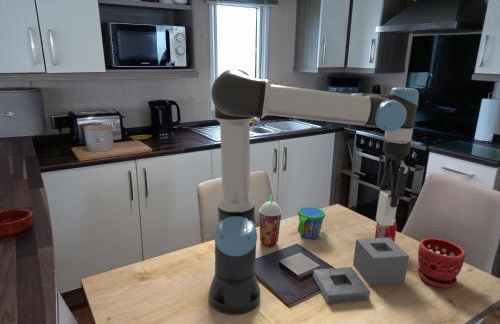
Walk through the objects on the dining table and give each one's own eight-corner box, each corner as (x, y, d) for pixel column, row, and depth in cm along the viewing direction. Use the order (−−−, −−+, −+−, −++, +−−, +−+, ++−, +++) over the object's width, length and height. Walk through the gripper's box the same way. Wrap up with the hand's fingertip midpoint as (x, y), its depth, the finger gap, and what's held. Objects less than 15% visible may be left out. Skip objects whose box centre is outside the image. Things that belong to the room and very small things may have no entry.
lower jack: (327, 304, 104) (328, 295, 104) (312, 277, 117) (313, 269, 116) (369, 300, 107) (370, 291, 106) (350, 274, 119) (351, 267, 118)
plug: (381, 225, 112) (386, 196, 110) (375, 220, 116) (379, 191, 113) (396, 225, 113) (401, 195, 111) (389, 219, 117) (394, 191, 114)
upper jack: (369, 286, 113) (373, 258, 111) (353, 265, 125) (356, 239, 122) (404, 283, 115) (409, 255, 113) (384, 262, 127) (388, 237, 124)
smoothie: (283, 242, 139) (286, 193, 133) (273, 251, 132) (275, 200, 126) (264, 236, 143) (267, 189, 137) (253, 244, 136) (255, 195, 130)
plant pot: (467, 290, 113) (475, 257, 109) (427, 291, 112) (434, 257, 108) (443, 267, 125) (449, 236, 122) (406, 267, 124) (412, 236, 121)
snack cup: (310, 224, 154) (312, 202, 151) (331, 233, 147) (333, 210, 144) (287, 236, 143) (288, 212, 141) (308, 246, 136) (310, 221, 133)
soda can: (394, 253, 133) (399, 224, 130) (374, 251, 134) (379, 221, 131) (391, 244, 140) (395, 216, 136) (372, 242, 141) (376, 214, 138)
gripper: (426, 147, 100) (412, 224, 106) (393, 134, 116) (383, 201, 122) (402, 147, 98) (389, 225, 105) (371, 134, 115) (362, 202, 121)
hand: (386, 212), depth 114 cm, fingers closed on plug, 4 cm apart
